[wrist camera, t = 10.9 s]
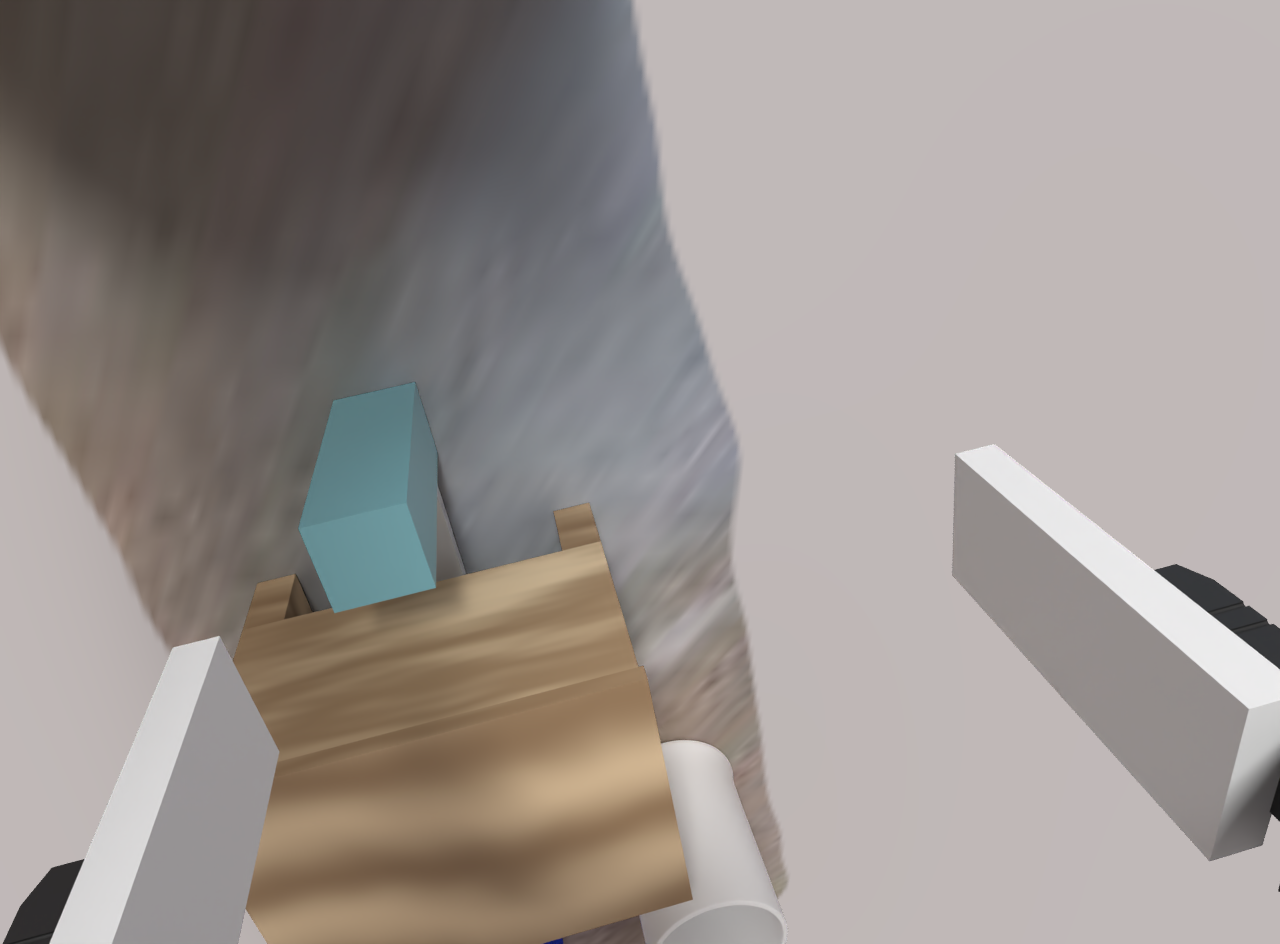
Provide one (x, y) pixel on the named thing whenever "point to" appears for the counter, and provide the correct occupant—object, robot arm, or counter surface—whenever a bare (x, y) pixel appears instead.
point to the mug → (714, 859)
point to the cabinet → (460, 760)
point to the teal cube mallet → (378, 502)
